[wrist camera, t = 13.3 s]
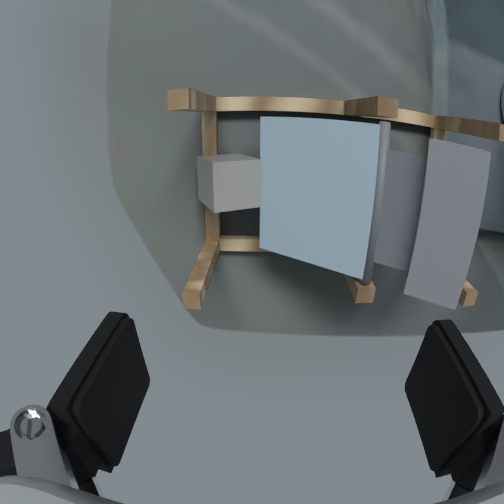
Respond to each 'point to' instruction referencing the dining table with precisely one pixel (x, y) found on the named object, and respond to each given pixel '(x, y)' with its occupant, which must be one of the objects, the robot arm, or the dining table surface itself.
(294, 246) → the trapdoor
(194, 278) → the frame
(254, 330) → the dining table surface
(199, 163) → the light grey block
